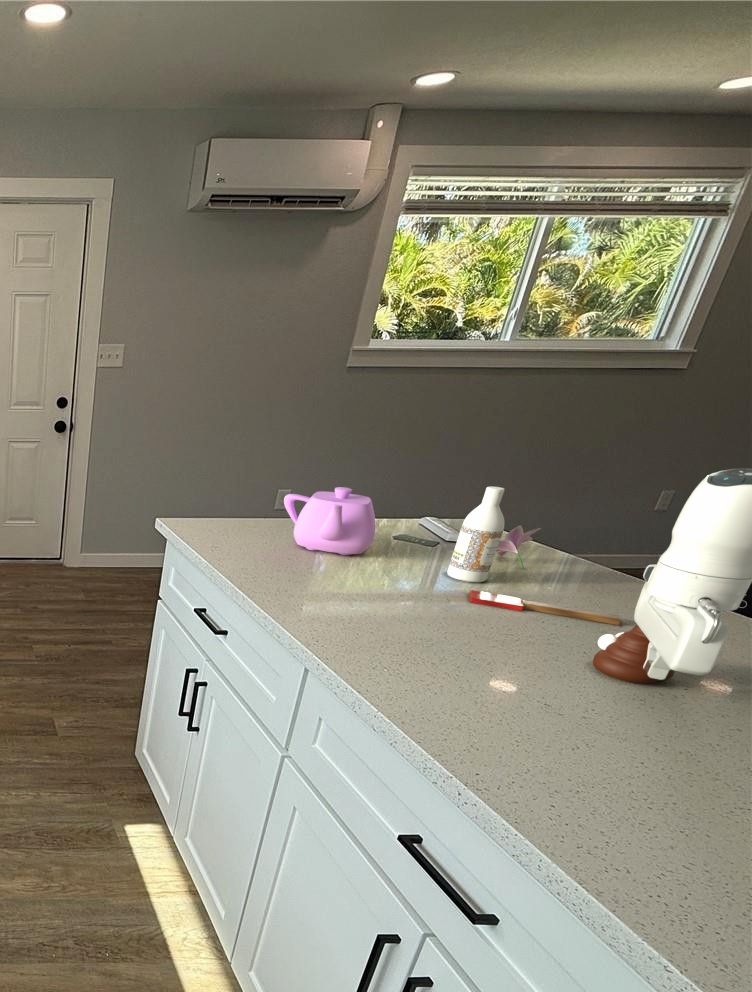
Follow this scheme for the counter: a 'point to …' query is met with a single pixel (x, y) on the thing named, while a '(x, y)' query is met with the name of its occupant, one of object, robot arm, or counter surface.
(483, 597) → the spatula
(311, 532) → the teapot
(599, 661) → the poop emoji
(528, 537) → the lily
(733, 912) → the counter surface
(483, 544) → the bath foam
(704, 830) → the counter surface
